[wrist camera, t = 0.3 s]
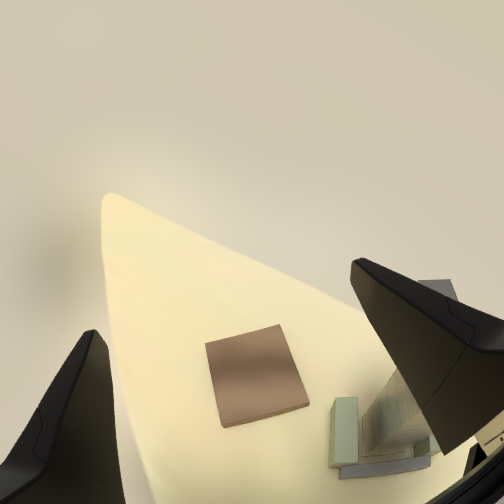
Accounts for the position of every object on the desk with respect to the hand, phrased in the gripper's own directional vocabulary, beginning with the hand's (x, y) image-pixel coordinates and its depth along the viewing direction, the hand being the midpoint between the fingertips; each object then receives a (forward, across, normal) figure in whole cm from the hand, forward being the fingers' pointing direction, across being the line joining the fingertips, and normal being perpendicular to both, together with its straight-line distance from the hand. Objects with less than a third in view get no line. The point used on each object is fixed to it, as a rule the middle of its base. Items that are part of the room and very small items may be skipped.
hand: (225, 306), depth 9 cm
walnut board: (+7, -1, +16) cm, 17 cm away
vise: (-2, -9, +17) cm, 19 cm away
